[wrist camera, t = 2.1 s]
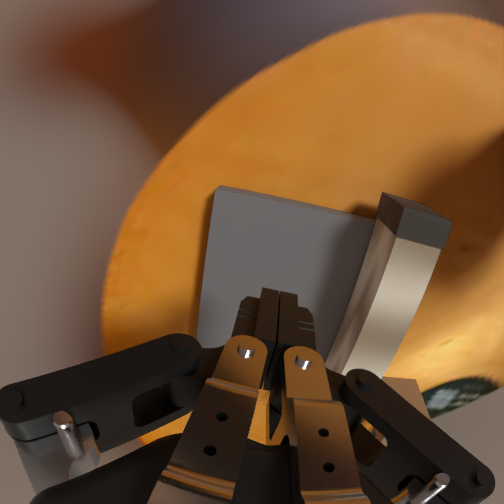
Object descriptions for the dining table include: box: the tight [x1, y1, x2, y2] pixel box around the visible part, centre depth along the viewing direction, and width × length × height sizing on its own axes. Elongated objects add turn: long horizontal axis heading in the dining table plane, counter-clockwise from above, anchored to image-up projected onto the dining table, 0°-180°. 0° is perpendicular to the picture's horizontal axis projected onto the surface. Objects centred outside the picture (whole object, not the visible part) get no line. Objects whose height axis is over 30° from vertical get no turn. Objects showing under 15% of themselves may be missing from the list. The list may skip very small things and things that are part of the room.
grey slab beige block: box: [196, 185, 431, 445], centre depth 21 cm, size 21×17×6 cm
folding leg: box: [325, 192, 453, 379], centre depth 19 cm, size 16×3×5 cm, turn 170°
